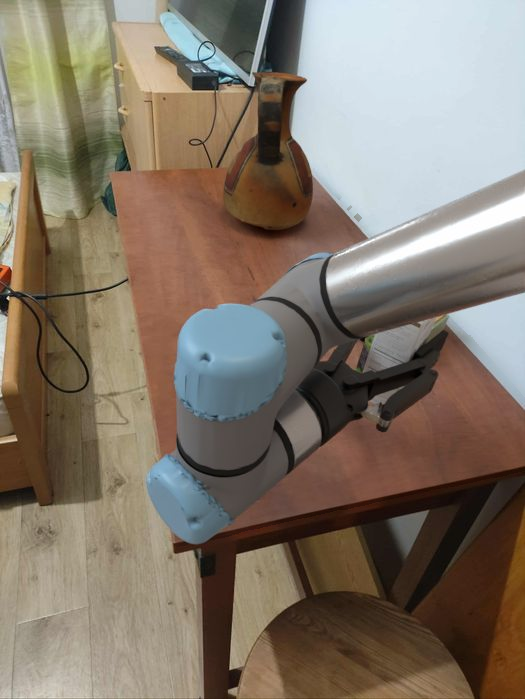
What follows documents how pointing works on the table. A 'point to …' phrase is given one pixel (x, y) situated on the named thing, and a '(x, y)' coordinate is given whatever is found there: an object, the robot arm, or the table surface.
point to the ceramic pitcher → (271, 163)
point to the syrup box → (393, 350)
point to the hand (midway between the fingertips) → (417, 326)
